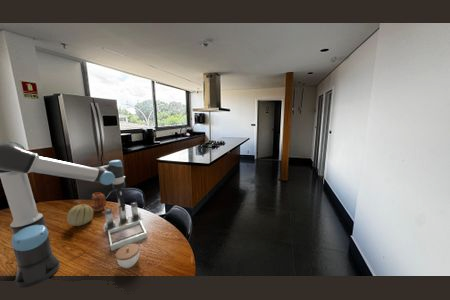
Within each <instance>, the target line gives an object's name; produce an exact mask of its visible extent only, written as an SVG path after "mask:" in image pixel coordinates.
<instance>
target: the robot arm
mask: <svg viewBox="0 0 450 300" xmlns="http://www.w3.org/2000/svg"><path fill="white" fill-rule="evenodd" d="M30 173H37V174H45V175H50V176H55V177H63V178H70V179H74V180H75V179H76V180H80V181H89V182H95V183H97V184H98V183H99V184H102V185H104V186H109V185H111V184H112V186H111V187H112V189H113V190H114V191H115V192H116V193H115V194H116V197H117V203H118V207H121V214H122V215H126V216H127V209H126V202H125V198H124V197H125V196H124V195H125V194H124V188H125V187H126V182H125V178H126V176H125V175H124V168H123V162H122V160H121V159H113V160H110V161H108V164H105V165H102V166H95V167H92V166H88V165H87V166H86V165H82V164H77V163H72V162H68V161H63V160H60V159H59V160H58V159H55V158H50V157H44V156H40V155H39V154H38V153H37V152H33V151H28V150H27V149H26V148H25V147H24V146H23V145H21V144H19V143H18V142H13V141H1V142H0V180H1V184H2V187H3V190H4V194H5V196H6V200H7V203H8V207H9V209H10V213H11V217H12V219H13V220H12V222H11V223H10V225H9V226H10V230H11V232H12V235H13V236H12V237H11V240H10V241H11V242H10V243H11V247H12V250H13V252H14V253H13V254H14V257H15V261H16V265H17V270H16V271H17V272H16V276H15V281H14V282H15V285H16V287H18V288H19V289H20V288H21V289H23V288H29V287H33V286H36V285H39V284H40V283H42V282H45V281H46V280H48V279H50V277H52V276H53V275H54V274H55V273H56V272H58V270H59V269H60V266H61V263H60V260H59V258H57V256H56V255H55V254H53V250H52V245H51V241H50V236H49V230H48V228H47V224H46V222H45V221H46V220H45V217H44V215H43V213H40V212H38V209H37V204H36V201H35V198H34V193H33V191H32V186H31V184H30V178H29V177H28V174H30Z"/></svg>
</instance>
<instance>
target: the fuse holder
mask: <svg viewBox="0 0 450 300" xmlns="http://www.w3.org/2000/svg"><path fill="white" fill-rule="evenodd" d="M138 217H139V218H136V219H134V220H133V218H132V215H130V216H129V217H128V216H126V221H127V222H123V223H120V218H118V219H117V220H113V223H114V226H110V227H108V228H107V224H106V222H105V223H104V224H103V225H102V227H103V232H104V233H105V232H108V230H111V229H114V228H117V227H120V226H123V225H126V224H130V223H133V222H136V221H139V220H141V221H143V219H144V218H143V217H142V215H141V213H139V212H138Z"/></svg>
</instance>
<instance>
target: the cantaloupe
mask: <svg viewBox="0 0 450 300" xmlns="http://www.w3.org/2000/svg"><path fill="white" fill-rule="evenodd" d="M93 210H94V209H93V208H92V207H91V206H90V205H88V204H85V203H82V204H77V205H75V206H72V208H70V210H69V211H68V213H67V216H66V220H67V223H68V224H69V225H70V226H71V225H72V226H74V227H80V226H84V225H87V224H88V223H89V222H91V220H92V219H93V217H94V211H93Z"/></svg>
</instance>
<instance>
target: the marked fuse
mask: <svg viewBox="0 0 450 300" xmlns="http://www.w3.org/2000/svg"><path fill="white" fill-rule="evenodd" d="M117 209H118V215H119V216H118V217H119V220H120V223H123V222H127V221H126V217H127V214H126V215H122V214H121V207H119V206H118V207H117Z"/></svg>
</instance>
